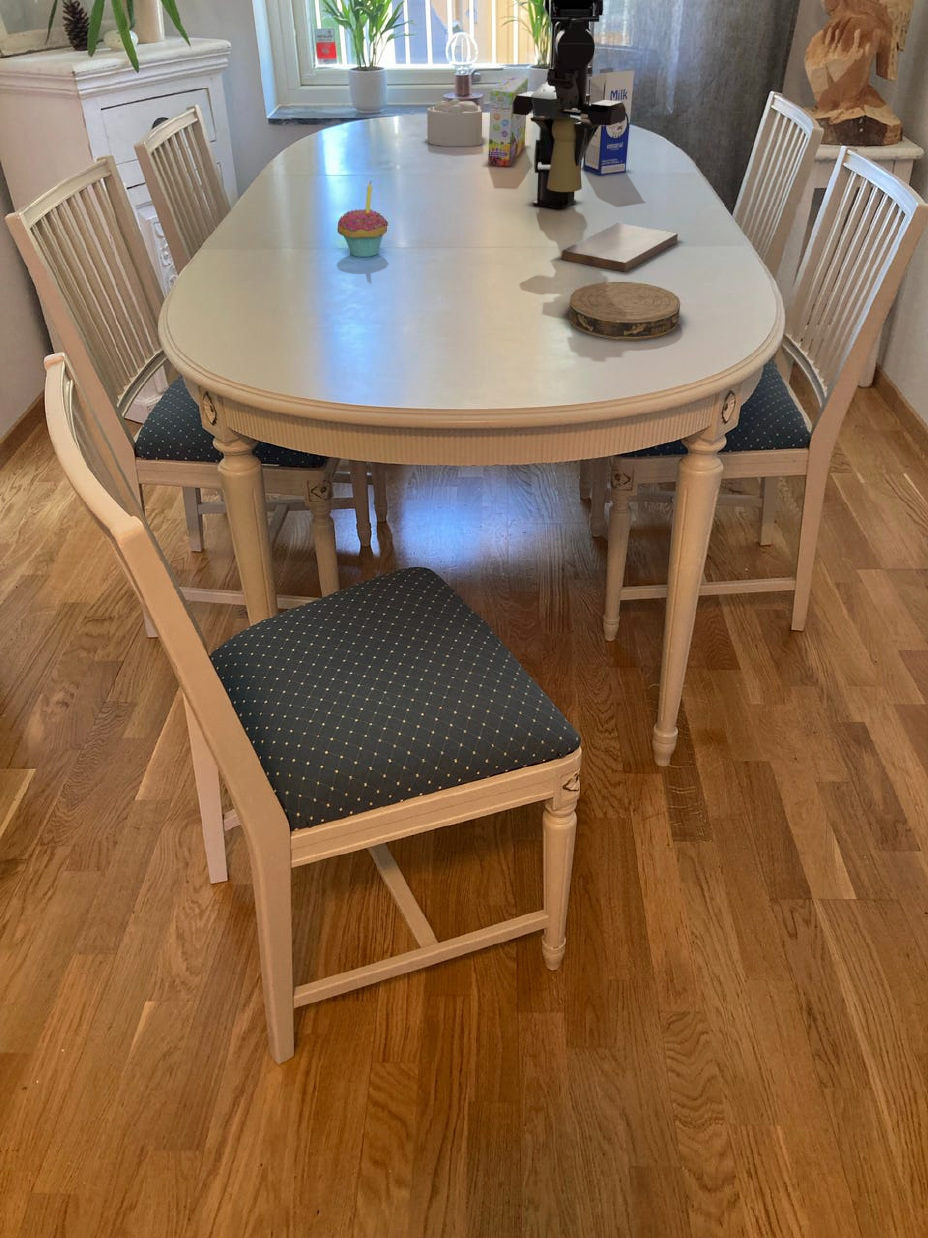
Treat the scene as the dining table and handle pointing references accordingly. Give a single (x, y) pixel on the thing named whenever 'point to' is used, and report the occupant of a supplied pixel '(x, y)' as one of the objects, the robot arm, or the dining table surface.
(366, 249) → the cupcake
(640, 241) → the serving board
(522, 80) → the snack box
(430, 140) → the lumpy-topped squat cylinder
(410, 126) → the dining table surface
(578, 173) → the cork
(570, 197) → the robot arm
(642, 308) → the wood slice
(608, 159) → the milk carton
